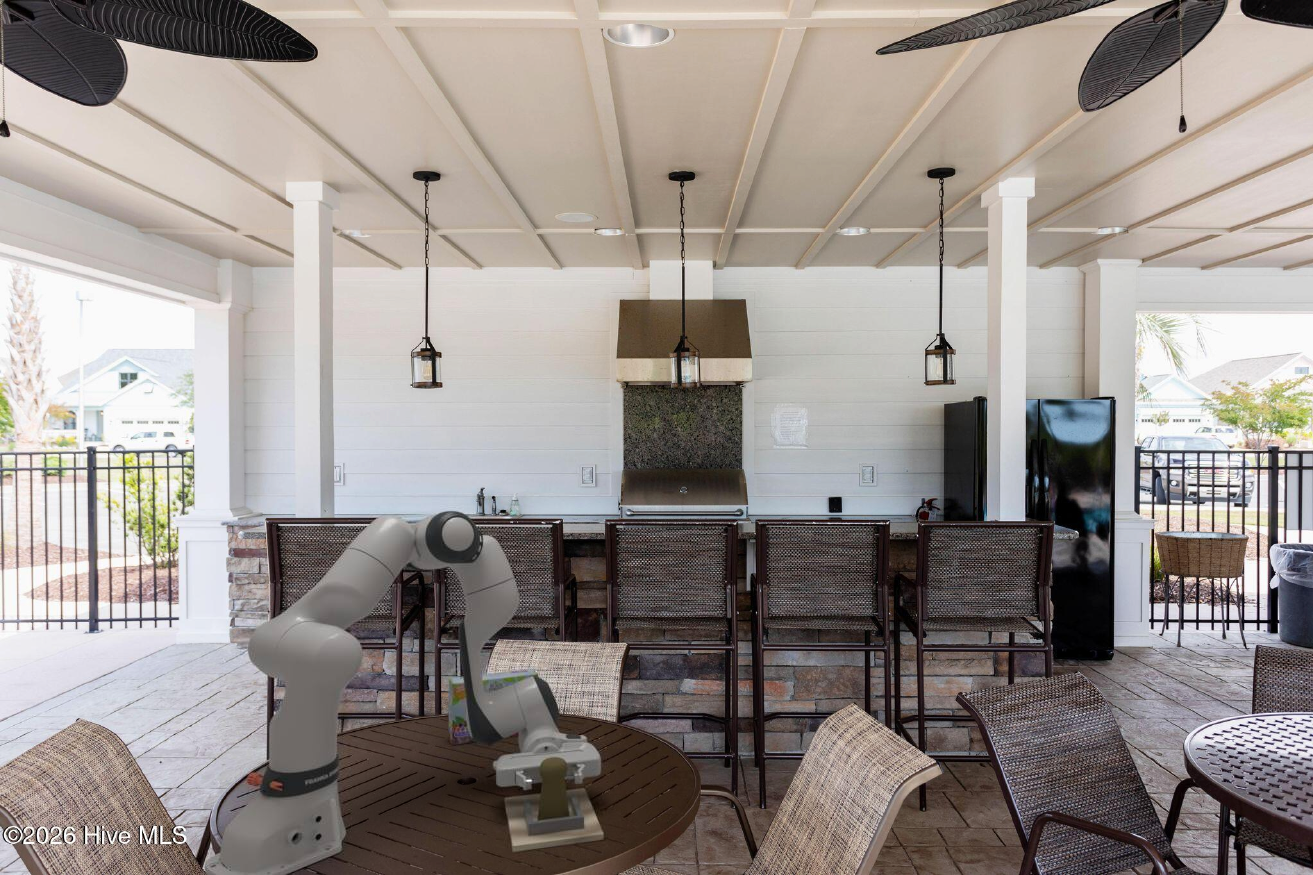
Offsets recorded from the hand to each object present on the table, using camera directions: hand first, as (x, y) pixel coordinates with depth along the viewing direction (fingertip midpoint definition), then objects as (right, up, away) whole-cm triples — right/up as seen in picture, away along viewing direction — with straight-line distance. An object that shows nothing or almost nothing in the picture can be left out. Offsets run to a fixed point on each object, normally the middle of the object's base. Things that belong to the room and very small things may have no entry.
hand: (553, 782), depth 142 cm
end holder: (0, -7, 0) cm, 7 cm away
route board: (-1, -8, +2) cm, 8 cm away
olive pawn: (0, -7, 0) cm, 7 cm away
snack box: (-21, -10, +47) cm, 53 cm away
